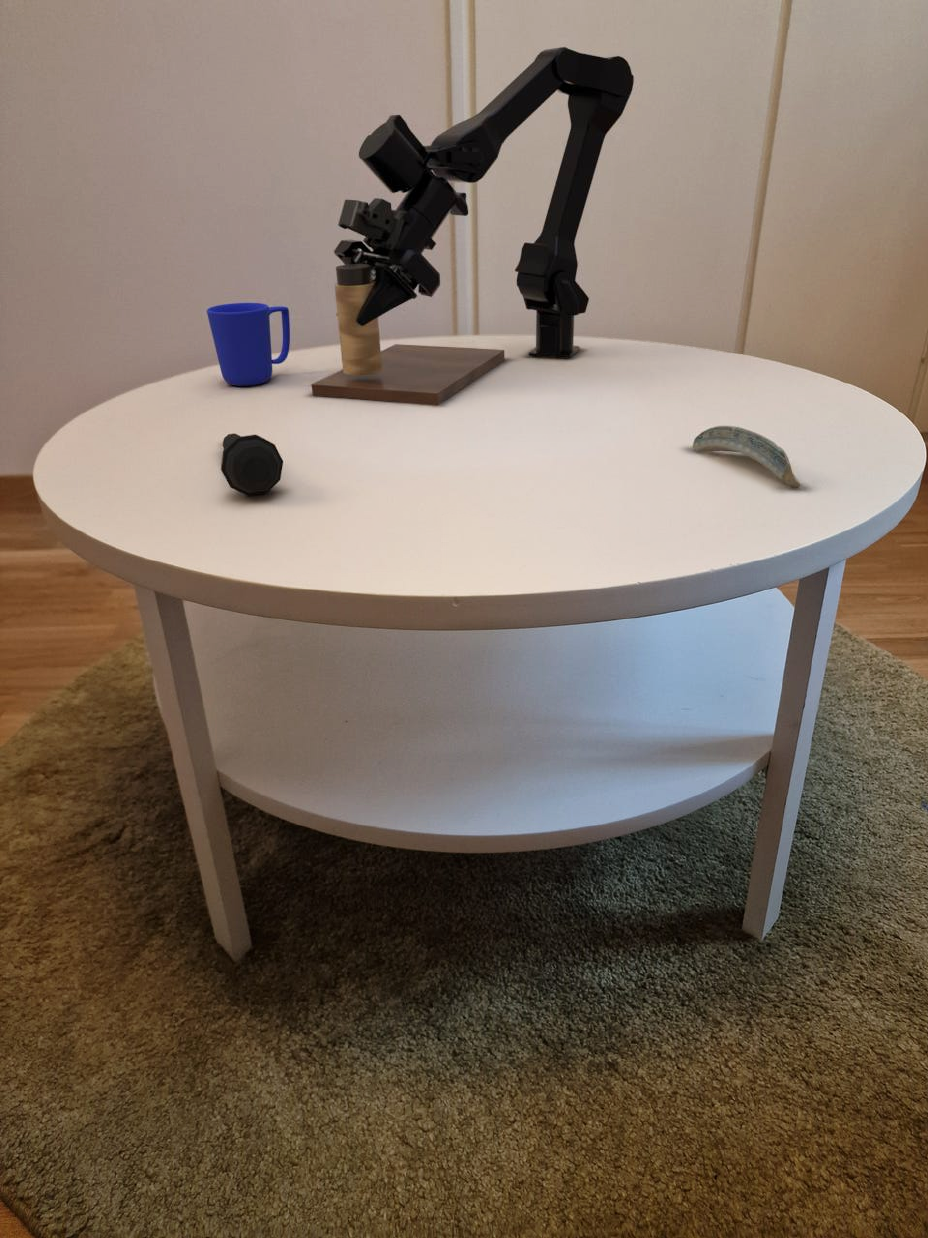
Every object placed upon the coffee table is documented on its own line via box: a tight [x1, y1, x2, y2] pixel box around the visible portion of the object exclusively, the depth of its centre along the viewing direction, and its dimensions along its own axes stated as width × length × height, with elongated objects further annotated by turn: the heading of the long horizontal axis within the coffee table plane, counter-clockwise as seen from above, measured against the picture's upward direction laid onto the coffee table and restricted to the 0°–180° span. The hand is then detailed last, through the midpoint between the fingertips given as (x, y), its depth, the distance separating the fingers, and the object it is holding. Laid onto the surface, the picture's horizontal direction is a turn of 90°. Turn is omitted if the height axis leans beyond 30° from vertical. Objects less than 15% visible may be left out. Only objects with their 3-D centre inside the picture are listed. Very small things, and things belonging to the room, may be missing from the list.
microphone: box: [220, 433, 284, 497], centre depth 86 cm, size 6×6×20 cm
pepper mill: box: [333, 264, 382, 375], centre depth 111 cm, size 5×5×13 cm
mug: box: [206, 302, 291, 387], centre depth 119 cm, size 8×12×10 cm
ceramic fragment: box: [692, 425, 802, 488], centre depth 83 cm, size 14×5×4 cm, turn 23°
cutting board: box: [311, 343, 506, 406], centre depth 120 cm, size 26×18×2 cm
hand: (348, 320), depth 110 cm, fingers closed on pepper mill, 5 cm apart
